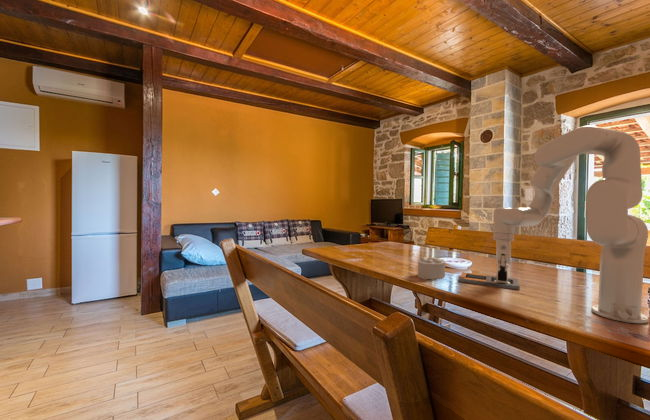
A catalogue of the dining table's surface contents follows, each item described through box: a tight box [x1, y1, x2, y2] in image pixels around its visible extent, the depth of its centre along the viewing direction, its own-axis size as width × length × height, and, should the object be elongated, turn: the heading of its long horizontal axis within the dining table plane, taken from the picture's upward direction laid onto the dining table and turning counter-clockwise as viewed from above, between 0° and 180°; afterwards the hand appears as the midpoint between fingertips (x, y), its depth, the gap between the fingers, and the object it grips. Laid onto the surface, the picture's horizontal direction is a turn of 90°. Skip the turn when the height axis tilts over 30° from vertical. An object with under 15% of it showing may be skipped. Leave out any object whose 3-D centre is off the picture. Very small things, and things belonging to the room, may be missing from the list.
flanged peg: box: [493, 263, 511, 284], centre depth 127 cm, size 6×6×8 cm
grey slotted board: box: [459, 271, 521, 291], centre depth 130 cm, size 13×22×2 cm, turn 60°
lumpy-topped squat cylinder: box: [417, 256, 446, 281], centre depth 138 cm, size 10×13×9 cm
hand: (502, 278), depth 127 cm, fingers closed on flanged peg, 4 cm apart
